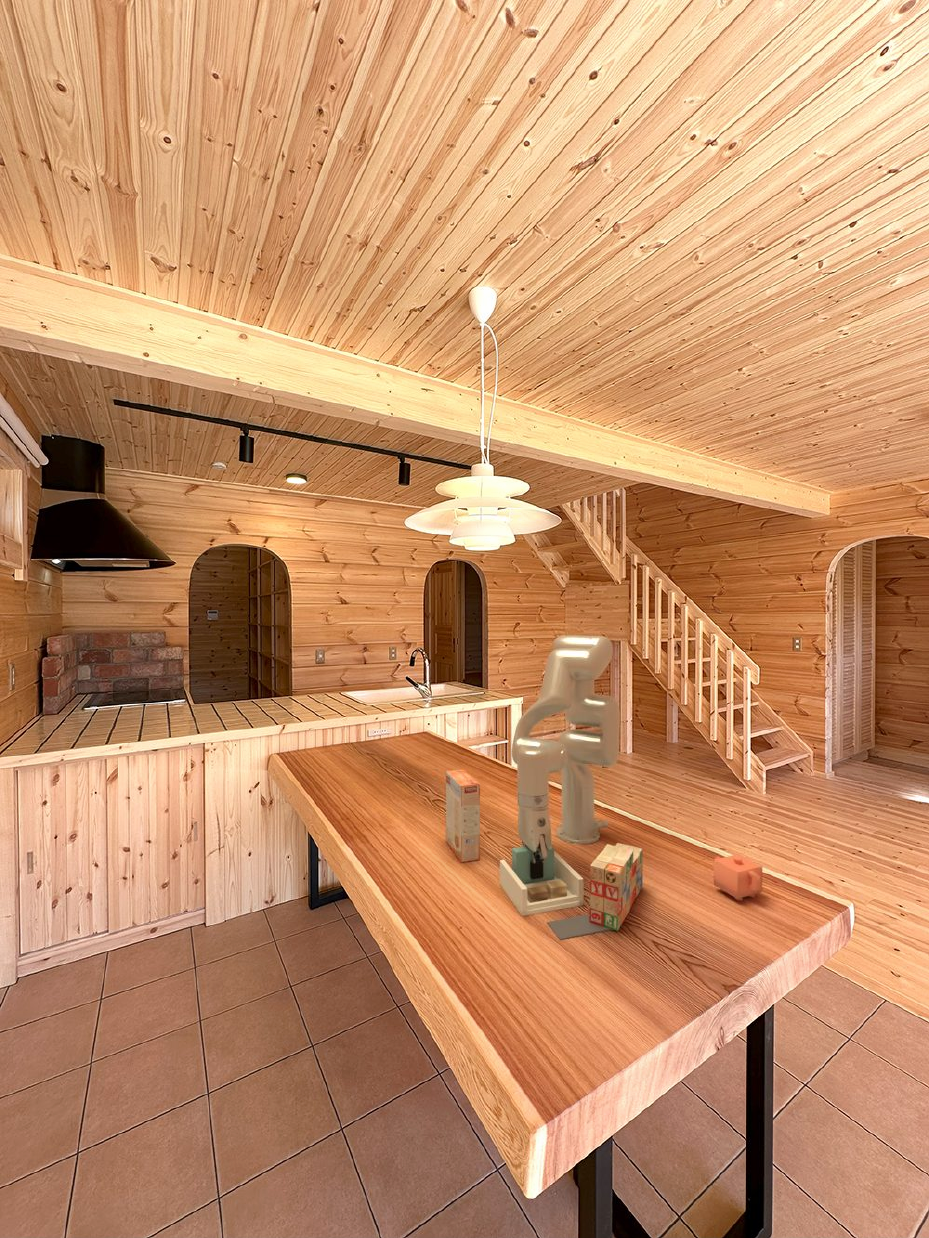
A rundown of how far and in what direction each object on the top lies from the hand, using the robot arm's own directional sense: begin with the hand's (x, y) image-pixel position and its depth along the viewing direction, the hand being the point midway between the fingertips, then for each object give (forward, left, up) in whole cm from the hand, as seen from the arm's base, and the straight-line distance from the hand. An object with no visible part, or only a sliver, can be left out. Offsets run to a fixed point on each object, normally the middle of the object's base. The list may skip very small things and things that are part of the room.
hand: (533, 873), depth 126 cm
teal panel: (0, 0, -2) cm, 2 cm away
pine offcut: (-2, +8, -2) cm, 8 cm away
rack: (0, +4, -3) cm, 5 cm away
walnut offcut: (+2, +8, -2) cm, 8 cm away
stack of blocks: (-15, +13, -3) cm, 20 cm away
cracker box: (+11, -23, -3) cm, 26 cm away
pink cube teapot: (-45, +16, -4) cm, 48 cm away
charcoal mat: (-3, +18, -3) cm, 18 cm away
